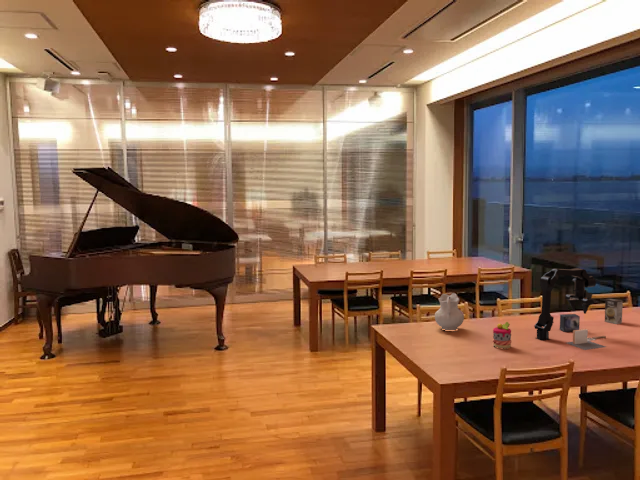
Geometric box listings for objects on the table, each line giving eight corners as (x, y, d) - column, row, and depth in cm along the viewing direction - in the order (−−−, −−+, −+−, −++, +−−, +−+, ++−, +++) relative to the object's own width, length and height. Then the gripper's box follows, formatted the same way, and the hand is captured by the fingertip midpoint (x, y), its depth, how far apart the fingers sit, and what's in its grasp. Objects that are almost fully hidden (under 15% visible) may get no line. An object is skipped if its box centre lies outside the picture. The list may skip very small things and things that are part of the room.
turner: (588, 341, 325) (588, 339, 325) (582, 339, 330) (582, 337, 330) (608, 339, 330) (608, 337, 330) (601, 336, 335) (601, 335, 334)
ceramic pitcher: (467, 335, 351) (469, 298, 348) (437, 334, 351) (440, 296, 349) (459, 327, 372) (461, 292, 370) (431, 325, 372) (433, 290, 370)
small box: (564, 332, 348) (564, 316, 347) (559, 329, 354) (559, 314, 353) (579, 331, 348) (580, 315, 347) (574, 329, 354) (575, 313, 353)
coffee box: (604, 321, 371) (604, 298, 370) (610, 320, 374) (610, 297, 372) (616, 324, 363) (616, 301, 361) (622, 323, 365) (623, 300, 364)
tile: (575, 344, 319) (575, 331, 318) (572, 343, 321) (573, 330, 320) (587, 342, 322) (587, 329, 321) (584, 341, 324) (585, 328, 323)
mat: (584, 350, 308) (584, 350, 308) (564, 343, 323) (564, 342, 323) (606, 347, 313) (606, 346, 312) (585, 340, 328) (585, 339, 328)
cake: (499, 350, 314) (499, 325, 312) (489, 345, 324) (489, 321, 323) (515, 348, 317) (515, 323, 315) (504, 343, 327) (504, 319, 325)
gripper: (601, 289, 332) (601, 314, 333) (578, 284, 349) (578, 308, 351) (587, 291, 328) (586, 315, 330) (564, 286, 346) (564, 309, 348)
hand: (579, 312), depth 340 cm, fingers open, 9 cm apart
